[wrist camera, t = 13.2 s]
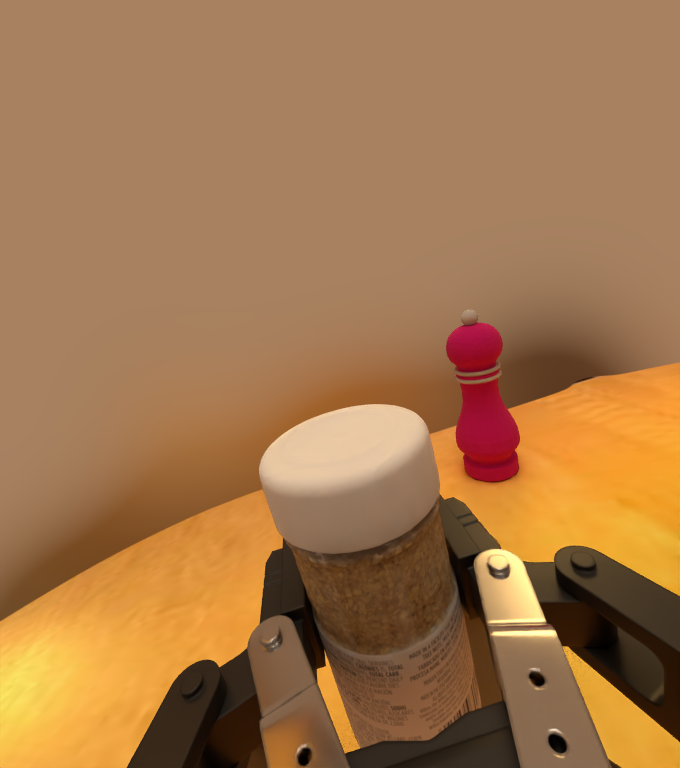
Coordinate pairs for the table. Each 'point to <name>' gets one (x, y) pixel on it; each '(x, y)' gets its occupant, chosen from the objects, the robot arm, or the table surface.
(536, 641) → the robot arm
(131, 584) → the table surface
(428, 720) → the sprinkles bottle
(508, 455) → the pepper mill
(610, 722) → the table surface
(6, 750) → the table surface
